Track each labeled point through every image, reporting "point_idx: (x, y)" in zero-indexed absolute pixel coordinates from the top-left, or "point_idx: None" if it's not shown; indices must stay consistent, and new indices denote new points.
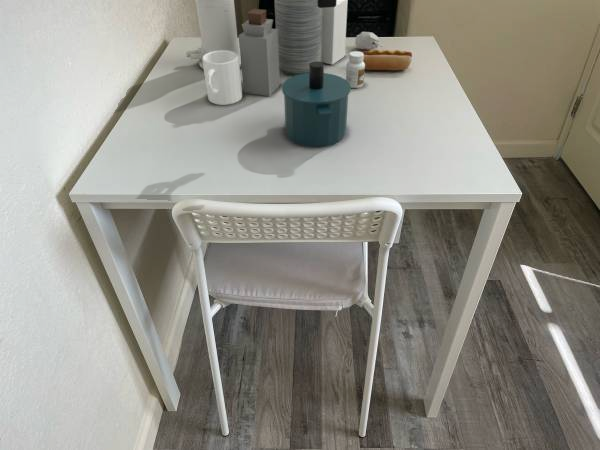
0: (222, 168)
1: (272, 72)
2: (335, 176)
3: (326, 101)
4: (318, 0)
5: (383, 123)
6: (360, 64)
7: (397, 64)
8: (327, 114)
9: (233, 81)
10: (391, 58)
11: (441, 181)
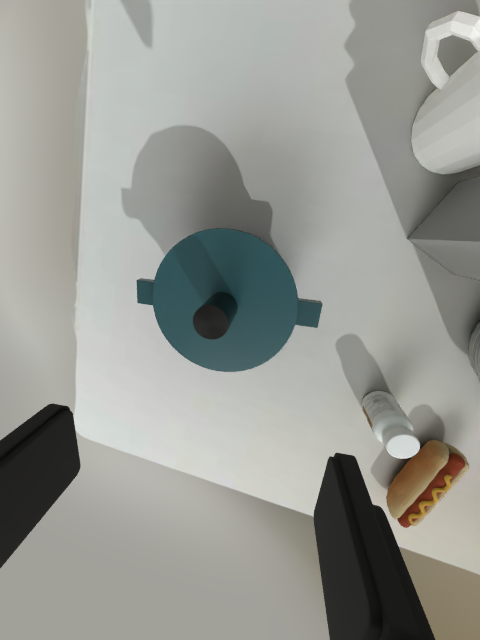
0: (160, 89)
1: (452, 255)
2: (116, 273)
3: (153, 303)
4: (23, 424)
5: (233, 386)
6: (380, 435)
7: (393, 490)
8: (138, 294)
9: (443, 133)
10: (407, 493)
11: (95, 384)
